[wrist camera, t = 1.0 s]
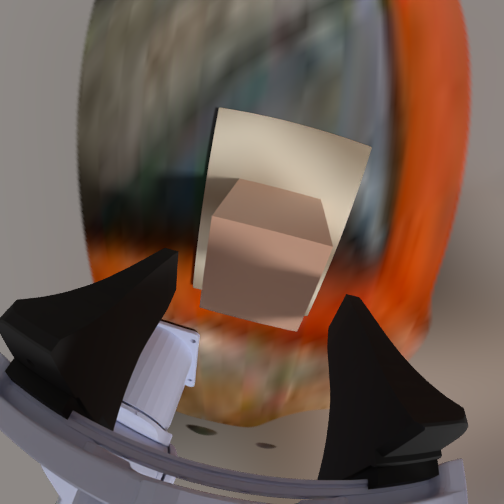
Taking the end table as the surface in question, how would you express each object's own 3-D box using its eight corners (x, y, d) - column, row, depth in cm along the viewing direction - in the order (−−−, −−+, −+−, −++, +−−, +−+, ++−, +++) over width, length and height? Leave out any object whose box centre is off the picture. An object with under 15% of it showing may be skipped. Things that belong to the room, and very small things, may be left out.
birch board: (307, 313, 21) (307, 316, 20) (194, 284, 21) (192, 287, 21) (370, 146, 14) (372, 147, 14) (220, 107, 14) (218, 107, 14)
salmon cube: (297, 267, 19) (296, 331, 13) (225, 249, 19) (199, 307, 13) (320, 199, 16) (332, 247, 11) (239, 178, 16) (212, 215, 11)
